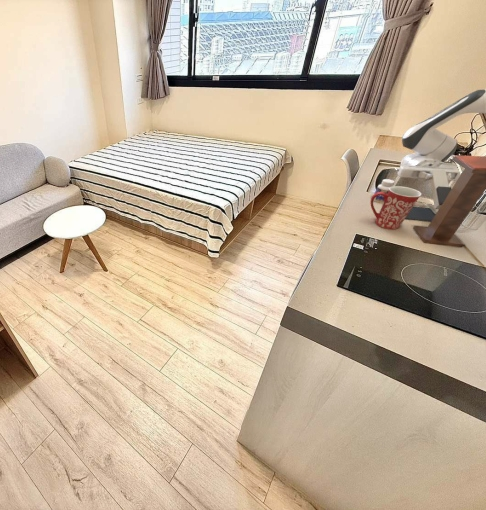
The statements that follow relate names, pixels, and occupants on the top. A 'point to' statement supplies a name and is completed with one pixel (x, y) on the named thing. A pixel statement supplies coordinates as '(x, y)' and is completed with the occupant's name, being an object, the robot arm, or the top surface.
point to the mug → (395, 206)
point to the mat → (420, 214)
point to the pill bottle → (383, 189)
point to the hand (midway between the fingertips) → (439, 177)
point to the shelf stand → (456, 203)
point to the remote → (439, 187)
